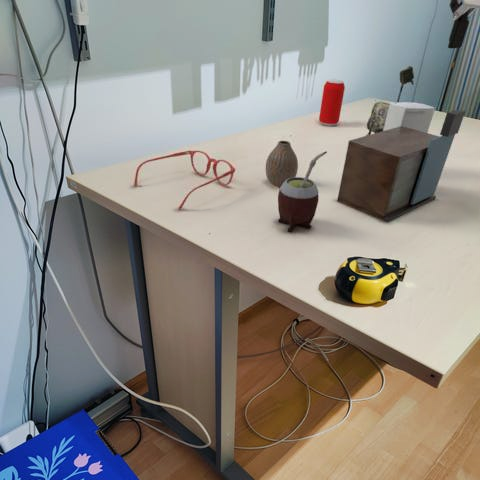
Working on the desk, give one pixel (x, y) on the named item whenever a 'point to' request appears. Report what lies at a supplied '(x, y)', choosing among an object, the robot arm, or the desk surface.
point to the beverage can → (331, 102)
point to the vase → (281, 164)
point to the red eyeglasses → (195, 170)
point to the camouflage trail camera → (387, 104)
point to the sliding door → (437, 157)
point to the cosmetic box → (409, 116)
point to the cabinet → (384, 172)
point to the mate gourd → (298, 200)
